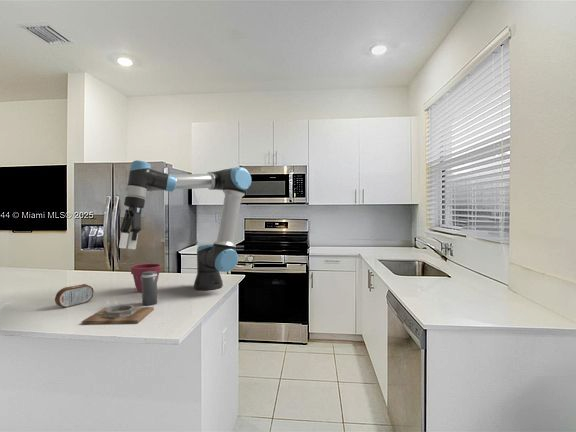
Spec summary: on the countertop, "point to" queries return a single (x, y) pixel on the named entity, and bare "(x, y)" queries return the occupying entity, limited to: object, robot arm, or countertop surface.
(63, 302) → the tin
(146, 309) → the mount board
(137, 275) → the plant pot
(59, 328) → the countertop surface
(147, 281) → the dome-topped grey cylinder
